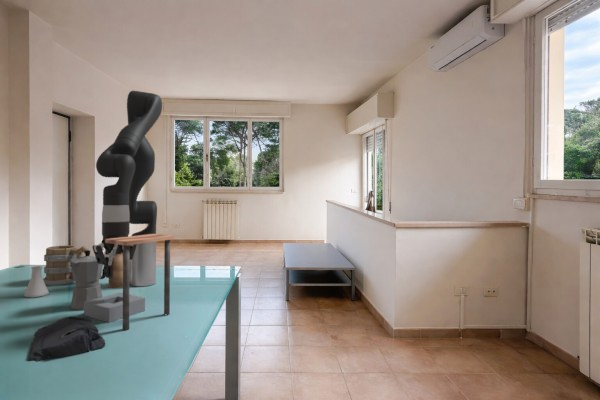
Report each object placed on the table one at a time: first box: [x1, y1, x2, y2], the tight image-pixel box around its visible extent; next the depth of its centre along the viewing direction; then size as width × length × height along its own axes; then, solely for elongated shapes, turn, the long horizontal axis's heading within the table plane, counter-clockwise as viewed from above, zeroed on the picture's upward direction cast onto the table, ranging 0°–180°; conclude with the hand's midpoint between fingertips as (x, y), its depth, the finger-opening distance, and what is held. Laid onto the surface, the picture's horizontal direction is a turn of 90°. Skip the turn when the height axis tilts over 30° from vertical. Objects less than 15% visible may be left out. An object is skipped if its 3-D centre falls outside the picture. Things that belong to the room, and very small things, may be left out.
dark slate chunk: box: [27, 315, 106, 362], centre depth 92 cm, size 15×22×5 cm
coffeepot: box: [68, 249, 106, 311], centre depth 120 cm, size 15×9×18 cm, turn 162°
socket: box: [83, 292, 146, 323], centre depth 113 cm, size 12×12×4 cm
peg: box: [108, 253, 123, 289], centre depth 113 cm, size 4×4×10 cm
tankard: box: [43, 244, 89, 286], centre depth 148 cm, size 20×13×15 cm, turn 68°
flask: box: [23, 265, 50, 298], centre depth 130 cm, size 7×7×10 cm
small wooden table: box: [105, 233, 175, 331], centre depth 107 cm, size 9×16×24 cm, turn 152°
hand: (115, 275), depth 113 cm, fingers closed on peg, 4 cm apart
